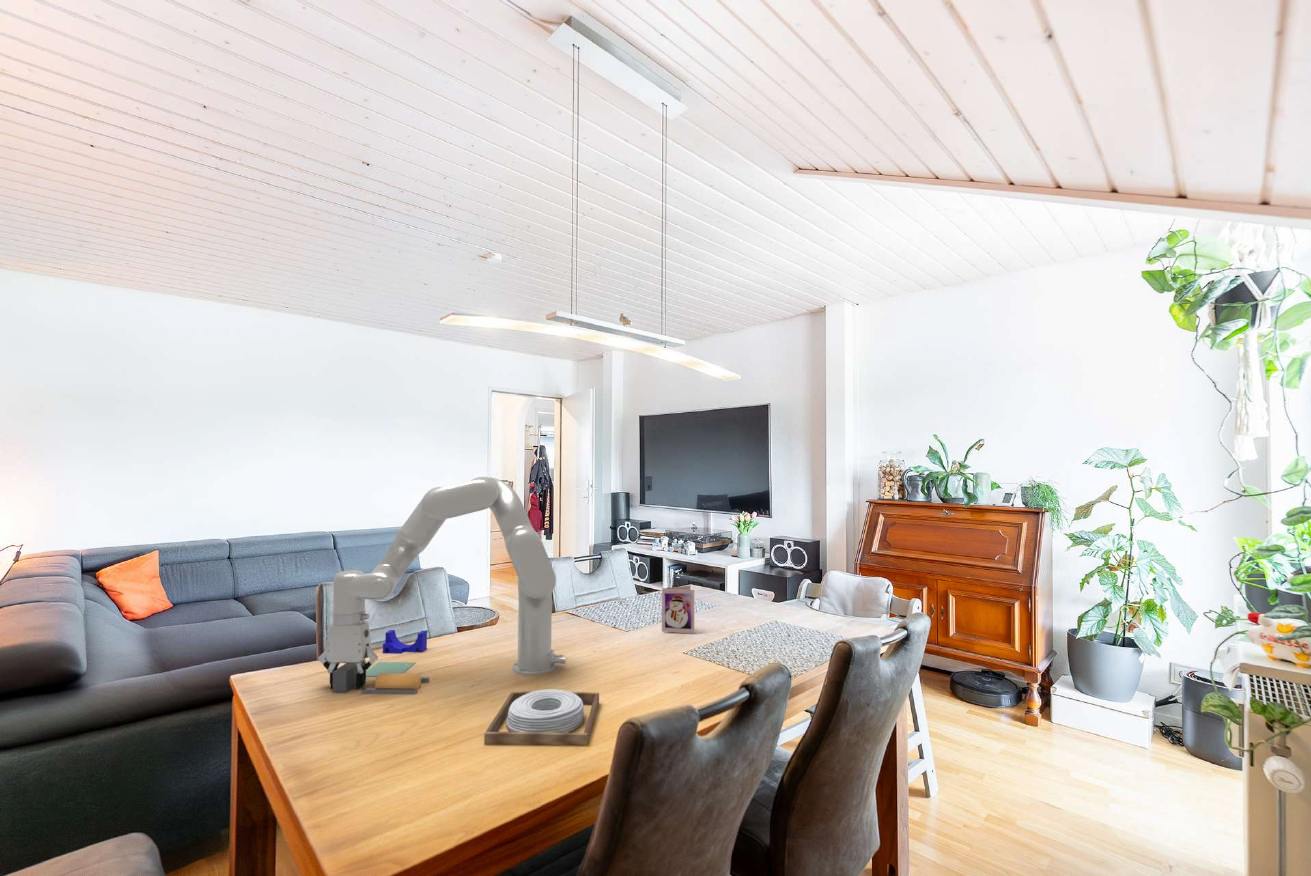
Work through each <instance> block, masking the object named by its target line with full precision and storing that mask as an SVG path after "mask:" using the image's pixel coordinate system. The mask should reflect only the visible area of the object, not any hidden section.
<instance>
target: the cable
mask: <svg viewBox="0 0 1311 876" xmlns="http://www.w3.org/2000/svg"><path fill="white" fill-rule="evenodd" d="M529 692H530V693H527V694H525V695H523V696H521V697H519V698H518V699H516V700H515V701H514V702H513V703H512V704H511V706H510V708H509V712H508V715H507V716H506V721H505V724H506V727H507V729H508V730H509V732H543V733H572V732H573V731H575V729H577V728H579V727H580V726H581V725H582V724H583V722H584V716H585V715H584V713H585V712H584V706H585V705H583V702H582V700H581V698H580V697H579V696H577V695H576V694H574V693H571V691H569V690H565V689H555V688H554V689H553V688H551V689H549V688H548V689H547V688H546V689H540V690H539V689H538V690H535V691H529Z"/></svg>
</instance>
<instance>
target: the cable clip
mask: <svg viewBox="0 0 1311 876" xmlns="http://www.w3.org/2000/svg"><path fill="white" fill-rule="evenodd" d="M384 636H385V637H384V639H385V640H384V642H383V643H382V654H395V655H396V654H400V655H402V654H403V653H424V652H425V651H427V649H428V648H427V646H428V644H427V643H428V640H427V639H428V631H427V630H421V631H420V632H418V633H417V637H416V640H415V642H414V643H412V644H407V643H403V642H402V641H400V640H399V639H398V637H397V633H396V630H395V629H390V630H388V631H386V632H385V635H384Z"/></svg>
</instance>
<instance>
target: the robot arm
mask: <svg viewBox="0 0 1311 876" xmlns="http://www.w3.org/2000/svg"><path fill="white" fill-rule="evenodd" d="M487 509H490V511H492V513H493V515H494V518H495V521H496V523H497V524H498V527H499V529H500V532H501V534H502V538H503V540H504V545H505V549H506V552H507V554H508V557H509V558H510V560H511V561H510V562H511V564H512V566H513V568H514V571H515V573H516V576H517V592H518V596H517V597H518V598H517V599H518V612H517V613H518V616H517V618H518V620H517V622H518V623H517V625H518V627H517V660H516V661H515V662H513V664H512V668H511V669H512V672H513V673H514V674H518V675H521V676H522V675H523V676H538V675H545V674H548V673H550V672H553V671H554V670H555V669H557V664H559V665H561V664H563V665H565V664H567V656H564V654H556V653H555V649H552V625H553V623H552V619H553V618H552V615H553V605H552V604H553V600H552V598H553V596H552V595H553V594H552V593H553V592H554V590H555V588H556V583H557V578H556V572H555V571H554V568H553V565H552V563H551V560H550V558H549V556H548V553H547V550H546V548H545V545H544V544H543V543H544V542H543V541H542V539H541V536H540V535H539V533H538V532H537V531H536V530H535V529H534V527H533V525H532V523H531V520H530V518H529V516H528V513H527V512H526V509H525V507H524V505H523V502H522V500H521V498H520V496H519V495H518V493H517V492H516V491H515V489H514V488H512V487H511V486H510V485H509V484H508V483H507V482H505V481H503V480H500V479H498V478H494V477H488V476H477V477H475V478H473V479H471V480H470V481H466V482H462V483H457V484H454V485H447V486H445V487H441V486H437V487H433V488H431V489H429V490H428V491H427V492H426V493H425V494H424V496H423V497H422V498H421V499H420V501H419V503H418V504H417V506H416V507H415V508H414V510H413V511H412V512H411V514H410V515H409V517H407V519H406V521H405V522H404V523H403V524H402V526H401V527H400V529H399V530H398V532H397V534H396V535H395V538H394V540H393V542H392V544H391V545H390V547H389V548H388V549H387V551H386V552H385V553H384V555H383V556H382V558H381V559H380V560H379V562H378V563H377V565H376V566H375V567H374V569H373V570H372V571H371V572H368V573H365V572H364V571H363V570H357V569H352V570H351V569H350V570H344V571H339V572H337V573H336V574H335V575H334V577H333V594H332V596H333V597H332V599H333V600H332V603H333V604H332V623H331V624H330V626H329V630H328V634H327V641H326V649H325V650H324V651H323V652H322V653H321V654H320V655H319V656H318V658H317V660H318V661H319V662H320V663H321V664H322V665H323V667H324V668H325V669H326V670H327V673H328V674H329V684H330V689H332V690H333V671H335V670H336V669H338V668H339V667H340V664H346V663H355V664H356V667H357V669H358V673H357V674H356V686H355V688H356V690H359V689H361V688H362V687H364V686H365V684H366V683H367V677H366V671H367V670H368V669H370V668H371V667H372V666H373V664H374V663H375V662H376V661H377V660H378V659H379V656H378V655H377V653H375V652H374V651H373V649H372V638H371V637H372V636H371V629H370V625H369V621H368V620H369V619H370V614H369V613H366V600H372V601H373V600H375V601H380V600H384V599H386V598H388V597H390V596H391V594H392V593H393V592H394V591H395V589H396V587H397V584H398V583H399V582H400V580H401V579H402V577H403V576H404V574H405V573H406V571H407V570H408V569H409V567H410V566H411V565H412V563H413V562H414V561H415V559H417V557H418V556H419V555H420V554H421V553H422V552H424V550H425V549H426V548H427V547H428V545H429V544H430V543H431V541H432V540H433V538H434V537H435V535H436V534H437V533H438V531H439V530H440V528H441V527H442V526H443V524H444V523H445V522H446V520H447V519H452V518H457V517H461V516H465V515H469V514H473V513H475V512H476V513H477V512H481V511H484V510H487ZM366 620H367V621H366ZM367 658H369V660H368V661H367V660H366V659H367Z"/></svg>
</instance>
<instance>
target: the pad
mask: <svg viewBox="0 0 1311 876" xmlns="http://www.w3.org/2000/svg"><path fill="white" fill-rule="evenodd" d="M416 664H417V663H416V662H415V661H414V662H413V661H410V662H407V661H405V662H404V661H378V662H377V663H376V664H374V665H372V666H370V667H369V668H368V669H367V670H366V678H368V677H369V678H377V677H378V675H379V674H381V673H392V674H405V673H406V672H407V671H408V670H409V669H411V668H412V667H413V666H414V665H416Z"/></svg>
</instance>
